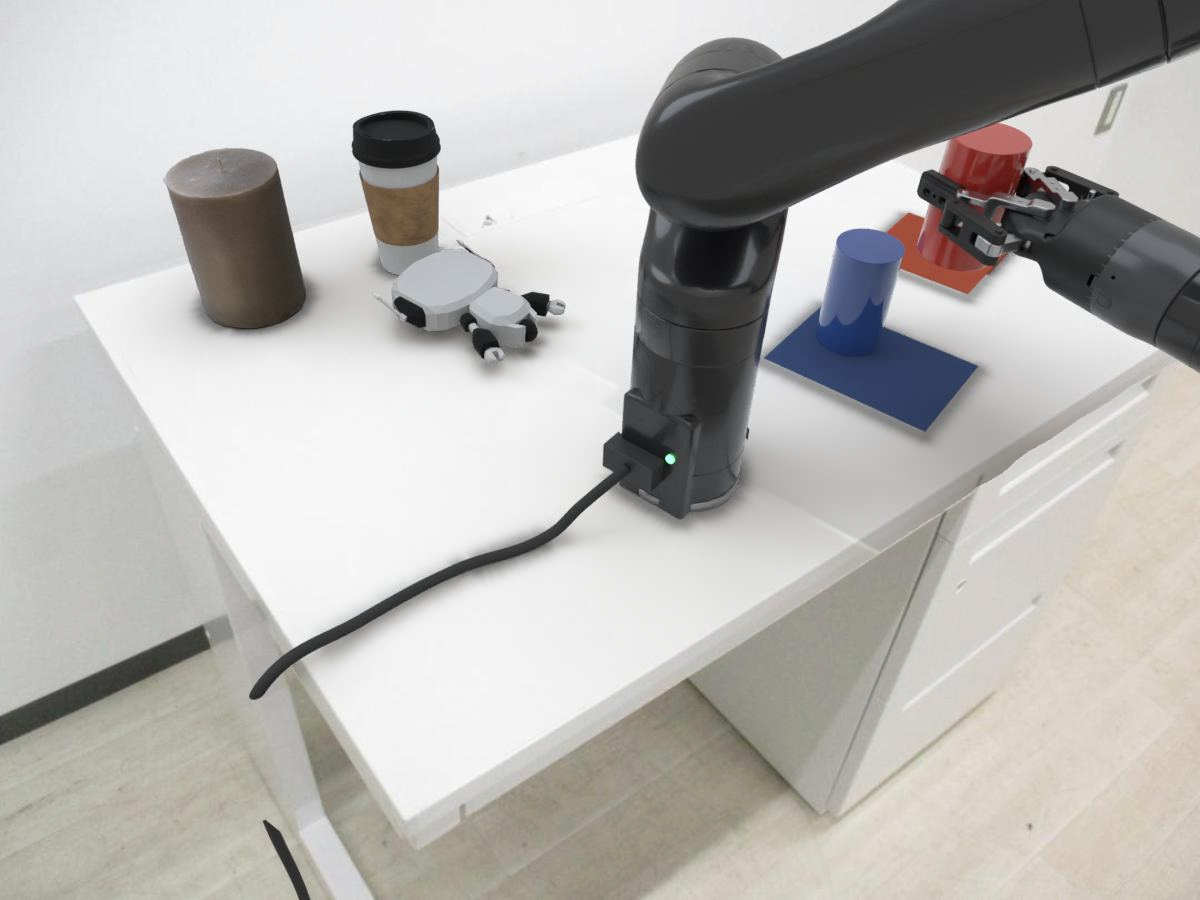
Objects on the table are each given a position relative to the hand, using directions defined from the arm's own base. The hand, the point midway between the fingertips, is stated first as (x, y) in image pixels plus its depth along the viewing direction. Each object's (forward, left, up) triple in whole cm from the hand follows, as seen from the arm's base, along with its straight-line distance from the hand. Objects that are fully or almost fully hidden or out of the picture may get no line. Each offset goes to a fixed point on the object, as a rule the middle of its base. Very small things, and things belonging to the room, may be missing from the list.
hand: (952, 172), depth 76 cm
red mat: (+21, +5, -19) cm, 29 cm away
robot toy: (-21, +34, -19) cm, 44 cm away
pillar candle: (-32, +53, -19) cm, 65 cm away
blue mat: (-2, +2, -19) cm, 19 cm away
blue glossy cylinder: (0, +5, -19) cm, 19 cm away
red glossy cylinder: (-1, -2, -6) cm, 6 cm away
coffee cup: (-17, +47, -19) cm, 54 cm away
